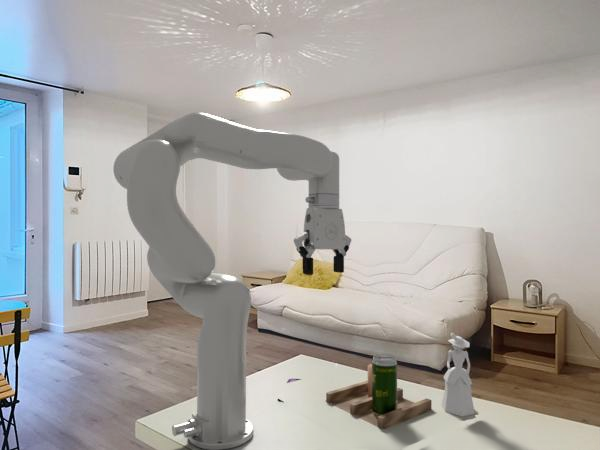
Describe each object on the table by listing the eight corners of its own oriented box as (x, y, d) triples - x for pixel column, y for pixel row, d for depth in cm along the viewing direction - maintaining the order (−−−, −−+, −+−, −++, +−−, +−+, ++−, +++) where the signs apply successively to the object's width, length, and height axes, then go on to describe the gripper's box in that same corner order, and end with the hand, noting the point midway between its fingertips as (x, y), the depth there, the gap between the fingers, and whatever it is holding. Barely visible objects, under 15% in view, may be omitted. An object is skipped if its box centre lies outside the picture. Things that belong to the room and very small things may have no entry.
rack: (383, 434, 85) (383, 419, 85) (325, 405, 99) (325, 392, 99) (433, 414, 94) (432, 400, 94) (373, 390, 109) (373, 378, 109)
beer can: (395, 408, 94) (395, 354, 95) (398, 419, 89) (398, 361, 89) (371, 407, 95) (371, 353, 95) (372, 418, 90) (372, 361, 90)
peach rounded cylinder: (377, 400, 99) (377, 370, 99) (363, 395, 103) (363, 365, 103) (390, 396, 102) (390, 367, 102) (376, 391, 105) (376, 362, 105)
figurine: (447, 420, 91) (447, 336, 91) (437, 405, 99) (437, 327, 99) (480, 421, 90) (480, 336, 91) (468, 406, 99) (468, 328, 99)
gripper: (305, 200, 95) (304, 276, 95) (360, 203, 106) (360, 272, 105) (285, 202, 101) (285, 274, 101) (339, 205, 112) (339, 270, 111)
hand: (323, 273), depth 103 cm, fingers open, 9 cm apart
